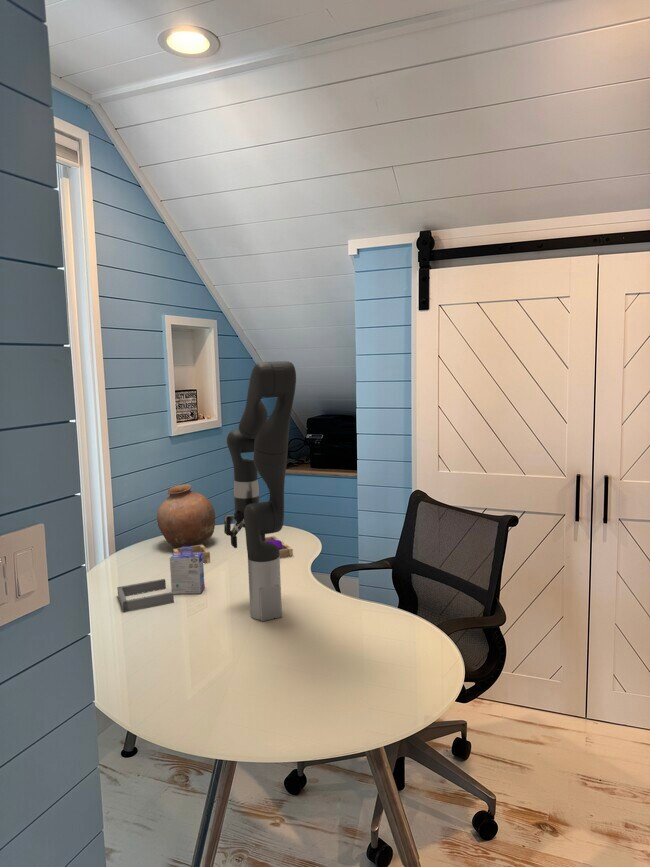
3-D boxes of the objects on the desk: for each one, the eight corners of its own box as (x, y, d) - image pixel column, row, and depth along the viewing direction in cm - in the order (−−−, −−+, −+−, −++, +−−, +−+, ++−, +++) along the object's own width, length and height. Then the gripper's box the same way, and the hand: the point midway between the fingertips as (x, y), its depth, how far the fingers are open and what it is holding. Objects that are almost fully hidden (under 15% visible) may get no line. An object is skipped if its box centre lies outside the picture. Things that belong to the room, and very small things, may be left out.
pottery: (224, 538, 255) (220, 480, 252) (203, 555, 232) (200, 492, 229) (173, 537, 259) (170, 480, 256) (148, 554, 236) (144, 491, 233)
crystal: (265, 536, 242) (285, 541, 230) (266, 548, 242) (287, 553, 230) (255, 539, 239) (275, 543, 227) (256, 551, 239) (276, 556, 227)
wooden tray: (210, 562, 223) (209, 552, 223) (180, 567, 219) (179, 557, 218) (202, 554, 234) (202, 544, 233) (173, 559, 229) (173, 549, 228)
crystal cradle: (292, 556, 227) (292, 548, 227) (268, 560, 223) (267, 553, 223) (273, 542, 246) (273, 535, 245) (250, 546, 241) (250, 539, 241)
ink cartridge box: (205, 587, 198) (203, 545, 197) (201, 593, 193) (199, 550, 191) (175, 588, 199) (173, 545, 197) (171, 594, 193) (168, 551, 192)
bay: (174, 602, 187) (173, 592, 186) (123, 612, 180) (123, 602, 180) (165, 587, 200) (164, 578, 199) (117, 596, 193) (117, 587, 193)
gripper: (227, 499, 177) (229, 552, 179) (272, 494, 183) (274, 545, 185) (220, 494, 183) (222, 545, 186) (264, 488, 189) (265, 538, 192)
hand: (248, 545), depth 185 cm, fingers open, 8 cm apart
